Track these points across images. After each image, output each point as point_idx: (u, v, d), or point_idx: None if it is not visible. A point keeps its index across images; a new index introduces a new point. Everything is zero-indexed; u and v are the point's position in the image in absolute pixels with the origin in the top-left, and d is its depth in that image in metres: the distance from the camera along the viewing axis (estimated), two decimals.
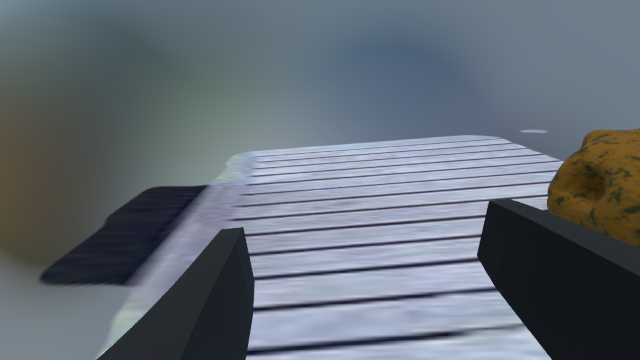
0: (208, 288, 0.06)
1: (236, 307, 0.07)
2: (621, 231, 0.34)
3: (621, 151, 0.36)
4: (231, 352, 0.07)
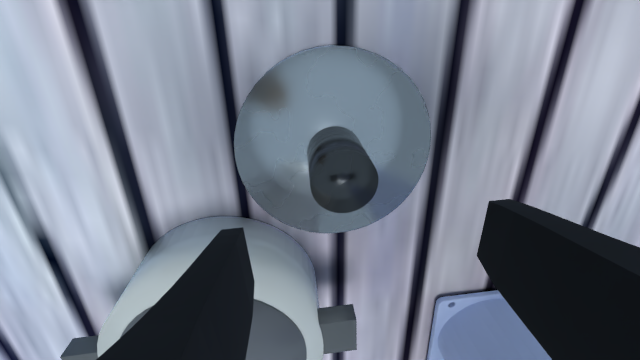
0: (208, 288, 0.06)
1: (236, 307, 0.07)
2: None
3: None
4: (231, 352, 0.07)
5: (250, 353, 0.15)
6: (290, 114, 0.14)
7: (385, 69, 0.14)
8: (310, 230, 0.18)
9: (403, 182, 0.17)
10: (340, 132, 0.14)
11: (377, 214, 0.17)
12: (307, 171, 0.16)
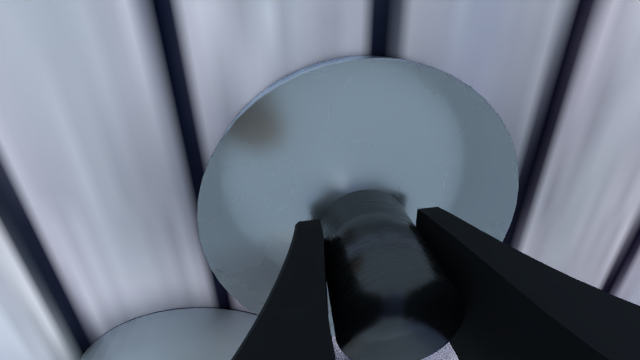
0: (320, 275, 0.06)
1: None
2: None
3: None
4: None
5: None
6: (295, 171, 0.08)
7: (463, 102, 0.08)
8: None
9: None
10: (382, 207, 0.08)
11: None
12: None
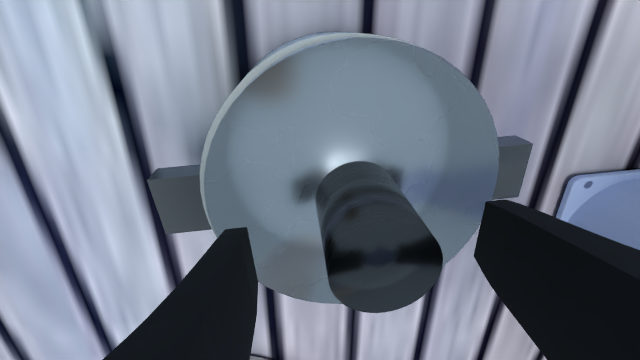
0: (214, 287, 0.06)
1: (241, 307, 0.07)
2: None
3: None
4: (236, 351, 0.07)
5: None
6: (297, 138, 0.09)
7: (451, 83, 0.09)
8: (307, 299, 0.12)
9: (445, 243, 0.12)
10: (374, 174, 0.09)
11: None
12: (313, 221, 0.11)
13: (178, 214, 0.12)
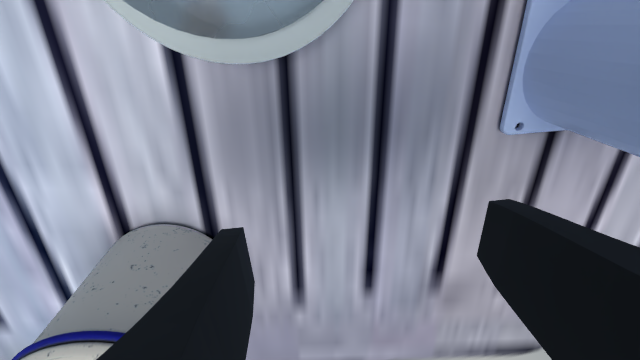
0: (208, 288, 0.06)
1: (236, 307, 0.07)
2: None
3: None
4: (231, 352, 0.07)
5: None
6: None
7: None
8: (172, 24, 0.10)
9: None
10: None
11: (292, 7, 0.10)
12: None
13: None
